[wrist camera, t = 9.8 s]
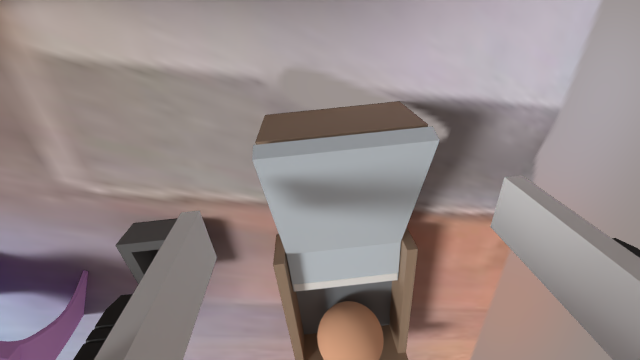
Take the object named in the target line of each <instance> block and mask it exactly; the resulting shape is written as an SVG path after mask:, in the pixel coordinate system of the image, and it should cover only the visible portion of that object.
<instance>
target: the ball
mask: <svg viewBox="0 0 640 360" xmlns="http://www.w3.org/2000/svg"><path fill="white" fill-rule="evenodd" d="M317 340H318V347H319V350H320V353H321V355H322V357H323V359H324V360H379V359H380V356H381V354H382V350H383V343H384V339H383V331H382V328H381V325H380V323H379V321H378V319H377V317H376V316H375V314H374V313H373V312H372V311H371V310H370V309H369V308H367V307H366V306H364V305H362V304H360V303H358V302H353V301H344V302H340V303H337V304H335V305H334V306H332V307H331V308H330V309H328V310H327V311H326V313H325V314H324V315H323V317H322V319H321V321H320V324H319V327H318V334H317Z"/></svg>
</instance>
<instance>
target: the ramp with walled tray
mask: <svg viewBox="0 0 640 360" xmlns="http://www.w3.org/2000/svg"><path fill="white" fill-rule="evenodd" d="M439 141H440V140H439V138H438V136H437V134H436V132H435V130H434V128H433V126H432V127H428V124H427V123H426V122H424V121H423V120H422V119H421V118H419V117H418V116H417V115H416V114H414V113H413V112H412V111H411V110H409V109H408V108H407V107H406V106H405V105H403V104H402V103H401V102H400V101H397V102H388V103H378V104H369V105H359V106H350V107H339V108H330V109H320V110H310V111H300V112H291V113H281V114H271V115H265V117H264V120H263V122H262V125H261V128H260V131H259V134H258V136H257V139H256V142H255V143H256V145H253V157H252V160H253V163H254V166H255V169H256V171H257V174H258V177H259V180H260V183H261V185H262V188H263V191H264V194H265V196H266V199H267V202H268V205H269V208H270V210H271V213H272V216H273V219H274V221H275V224H276V227H277V230H278V233H279V234H278V235H276V243H275V253H274V262H273V266H274V271H275V275H276V279H277V283H278V288H279V292H280V296H281V301H282V305H283V309H284V313H285V318H286V322H287V326H288V330H289V335H290V339H291V343H292V348H293V352H294V356H295V360H324V359H323V357H322V355H321V353H320V350H319V347H318V340H317V334H318V327H319V324H320V321H321V319H322V317H323V315H324V314H325V313H326V311H327V310H328V309H330V308H331V307H332V306H334V305H335V304H337V303H340V302H344V301H353V302H358V303H360V304H362V305H364V306H366V307H367V308H369V309H370V310H371V311H372V312H373V313H374V314H375V316H376V317H377V319H378V321H379V323H380V325H381V328H382V331H383V339H384V343H383V350H382V354H381V356H380V359H379V360H408V358H407V355H406V347H407V338H408V330H409V321H410V313H411V304H412V296H413V287H414V279H415V270H416V262H417V253H418V248H417V246H416V244H415V242H414V240H413V239H412V237H411V235H410V233H409V231H408V229H407V225H408V222H409V219H410V217H411V214H412V211H413V209H414V206H415V204H416V201H417V198H418V196H419V193H420V191H421V188H422V185H423V183H424V180H425V177H426V175H427V172H428V170H429V167H430V164H431V162H432V159H433V157H434V154H435V151H436V149H437V146H438V143H439Z"/></svg>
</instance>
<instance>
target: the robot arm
mask: <svg viewBox="0 0 640 360" xmlns="http://www.w3.org/2000/svg"><path fill="white" fill-rule="evenodd" d="M491 228H492V229H493V230H494V231H495V232H496V233H497V234H498V236H499V237H500V238H501V239H502V240H503V241H504V242H505V243H506V244H507V245H508V246H509V247H510V249H511V250H512V251H513V252H514V253H515V254H516V255H517V256H518V257H519V258H520V259H521V260H522V261H523V262H524V264H525V265H526V266H527V267H528V268H529V269H530V270H531V271H532V272H533V274H534V275H535V276H536V277H537V278H538V279H539V280H540V281H541V282H542V283H543V284H544V285H545V286H546V288H547V289H548V290H549V291H550V292H551V293H552V294H553V295H554V296H555V297H556V298H557V299H558V301H559V302H560V303H561V304H562V305H563V306H564V307H565V308H566V309H567V310H568V311H569V313H570V314H571V315H572V316H573V317H574V318H575V319H576V320H577V321H578V322H579V323H580V324H581V325H582V327H583V328H584V329H585V330H586V331H587V332H588V333H589V334H590V335H591V336H592V337H593V339H594V340H595V341H596V342H597V343H598V344H599V345H600V346H601V347H602V348H603V349H604V351H606V353H607V354H608V355H609V356H610V357H611V358H612V359H613V360H640V250H639V249H638V248H636V247H634V246H631V245H629V244H627V243H625V242H623V241H621V240H618V239H616V238H610V237H609V236H608V235H606V234H605V233H603V232H602V231H601V230H599V229H598V228H596V227H595V226H593V225H592V224H590V223H589V222H588V221H586V220H585V219H583V218H582V217H581V216H579V215H578V214H576V213H575V212H574V211H572V210H571V209H569V208H568V207H566V206H565V205H564V204H562V203H561V202H559V201H558V200H556V199H555V198H554V197H552V196H551V195H549V194H548V193H546V192H545V191H544V190H542V189H541V188H539V187H538V186H537V185H535V184H534V183H532V182H531V181H529V180H528V179H527V178H525V177H524V176H522V175H520V176H511V177H504V181H503V185H502V188H501V192H500V195H499V199H498V202H497V206H496V209H495V213H494V216H493V220H492V223H491ZM216 259H217V256H216V254H215V251H214V248H213V246H212V243H211V240H210V238H209V235H208V232H207V230H206V227H205V224H204V221H203V219H202V216H201V213H200V211H192V212H182V213H181V214H180V216H179V217H178V219H177V221H176V222H175V224H174V226H173V227H172V229H171V231H170V232H169V234H168V236H167V238H166V239H165V241H164V243H163V244H162V246H161V248H160V249H159V251H158V253H157V254H156V256H155V258H154V259H153V261H152V263H151V264H150V266H149V268H148V270H147V271H146V273H145V275H144V276H143V278H142V280H141V281H140V283H139V285H138V286H137V288H136V290H135V291H134V293H133V294H130V295H121V296H120V297H119V298H118V299H117V300H116V301H115V302H114V303H113V304H112V305H111V306H109V307H108V308H107V309H106V310H105V312H104V313H103V315H102V316H101V318H100V320H99V321H98V323H97V324H96V326H95V329H94V330H92V332H91V333H90V335H89V336H88V338H87V339H86V343H85V344H83V345H82V347H81V349H80V350H79V352H78V353H77V355H76V356H75V358H74V359H73V360H183V358H184V355H185V352H186V349H187V346H188V343H189V340H190V337H191V334H192V331H193V328H194V325H195V322H196V319H197V316H198V313H199V310H200V307H201V304H202V301H203V298H204V295H205V292H206V289H207V286H208V283H209V280H210V277H211V274H212V271H213V268H214V265H215V262H216Z"/></svg>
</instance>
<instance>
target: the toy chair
mask: <svg viewBox="0 0 640 360" xmlns="http://www.w3.org/2000/svg"><path fill="white" fill-rule="evenodd" d="M87 277H88V271H85V270H84V271H83V273H82V275H81V278H80V280H79V283H78V285H77V288H76V290H75V292H74V294H73V296H72V299H71V301H70V302H69V304H68V306H67V307H66V309H65V310H64V311H63V312H62V314H61V315H60V316H59V317H58V318H57V319H56V320H54V321H53V322H52V323H51V324H49V325H48V326H47V327H45V328H44V329H42V330H40V331H39V332H37V333H36V334H34V335H32V336H30V337H28V338H26V339H23V340H19V341H11V342H6V341H0V360H55V359H56V358H57V356H58V355H59V354H60V352H61V351H62V349H63V348H64V346H65V345H66V343H67V342H68V340H69V338H70V337H71V335H72V334H73V332H74V330H75V329H76V327H77V325H78V324H79V322H80V320H81V318H82V317H83V315H84V308H85V298H86V288H87Z"/></svg>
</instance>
